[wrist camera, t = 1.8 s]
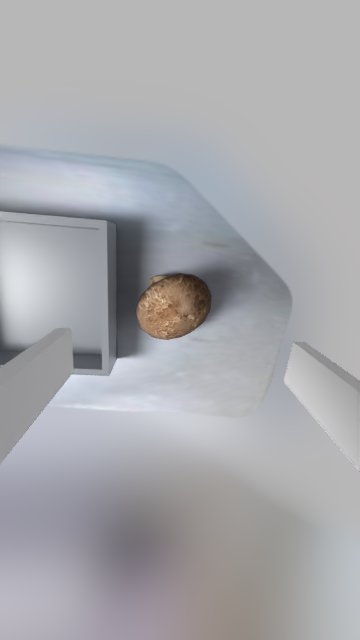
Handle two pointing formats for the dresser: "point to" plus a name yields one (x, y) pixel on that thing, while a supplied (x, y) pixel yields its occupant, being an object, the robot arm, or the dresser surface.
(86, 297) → the tray
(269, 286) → the dresser surface
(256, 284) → the dresser surface
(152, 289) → the mushroom
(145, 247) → the dresser surface
